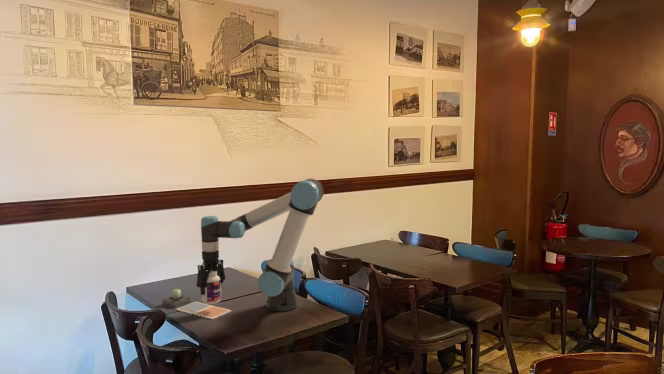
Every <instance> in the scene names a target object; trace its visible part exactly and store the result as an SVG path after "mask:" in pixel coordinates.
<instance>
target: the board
mask: <svg viewBox="0 0 664 374" xmlns="http://www.w3.org/2000/svg"><path fill="white" fill-rule="evenodd" d="M175 311H179V312H182V313H185V312H186V314H189V313H190V314H189V315H192V314H194V315H193V316H196V315H198V317H200V316H201V318H204V317H205V318H204V319H207V318H209V319H208V320H211V319H213V320H215V319H217V318H219V316H220V317H222V316H224V315H227V314H229V313H231V312H232V310H231V309H228V308H223V307H220V306H215V305H213V304H205V303H204V302H199V301H194V302H190V303H188V304H185V305H183V306H180V307H177V308H175ZM214 318H215V319H214Z"/></svg>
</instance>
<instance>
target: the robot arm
mask: <svg viewBox="0 0 664 374" xmlns="http://www.w3.org/2000/svg"><path fill="white" fill-rule="evenodd" d="M323 197H324V187H323V184H322V183H321V182H320V181H318V179H317V180H316V179H314V178H308V179H305V180H304V179H303V180H300V181H298V182H297V183H296V184H294V186H293V187H292V189H291V192H288V193H286V194H284V195H282V196H279V197H278V198H276V199H273V200H271V201H269V202H267V203H265V204H263V205H260V206H259V207H256V208H254V209H252V210H250V211H248V212H246V213H244V214H242V215H239V216H237V217H236V218H234V219H232V220H229V221H228V220H226V221H223V220H219V217H218V216H215V215H206V216H202V218H201V219H200V220H201V221H200V229H201V230H200V231H201V233H200V235H201V250H202V251H201V259H202V260H203V261H202V264H198V265H197V279H196V287H197V288H200V295H201V302H203V301H204V302H207V287H206V283H207V279H208V276H209V273H210V272H211V271H212V270H214V271H217V276H219V277H220V293H221V294H222V289H223V283H224V282H225V281H224V280H226V274H225V269H224V260H223V259H221V258H220V250H219V249H220V248H219V247H220V246H219V245H220V244H219V243H220V242H219V239H220V238H221V239H233V240H234V239H242V238H243V237H244V235H245V232H247V231H248V230H252V229H253V228H255V227H257V226H260V225H262V224H263V223H266V222H268V221H270V220H272V219H274V218H276V217H278V216H281V215H283V214H285V213H287V212H288V215H287V217H286V220H285V222H284V225H283V227H282V231H281V234H280V236H279V239H278V242H277V243H276V246H275V250H274V252H273V254H272V257H271V258H269V259H268V260H267V261H266V263H265V266H264V269H263V272H262V273H261V274H260V275H259V276H258V280H257V286H258V289H259V291H260V292H261V293H262V294H264V295H265V296H266V297H267V300H266V308H267V309H268V310H269V311H273V312H288V311H292V310H296V308H298V307H299V300H298V297H297V294H296V291H295V264H294V263H295V262H294V260H293V258H294V256H295V253H296V251H297V247H298V245H299V242H300V240H301V237H302V234H303V231H304V229H305V227H306V223H307V221H308V219H309V217H312V216H313V215H314V213H315V210H316V209H317V205H318V203H319V202H320V201H321V200H322V198H323ZM219 258H220V259H219ZM204 302H203V303H204Z"/></svg>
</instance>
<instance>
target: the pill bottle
mask: <svg viewBox="0 0 664 374" xmlns="http://www.w3.org/2000/svg"><path fill="white" fill-rule="evenodd" d="M206 287H207V302H204V301H202V303H204V304H208V305H216V304H218V303H220V302H221V300H222V299H221V297H222V292H221V293H220V277H219V276H217V271H214V270H212V271H211V272H210V273H209V276H208V279H207V283H206Z"/></svg>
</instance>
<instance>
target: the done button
mask: <svg viewBox="0 0 664 374" xmlns="http://www.w3.org/2000/svg"><path fill="white" fill-rule="evenodd" d="M170 294H171V295H170V296H171V297H172V300H178V299H181V295H182V291H181V289H180V288H174V289H172V290H171V291H170Z"/></svg>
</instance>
